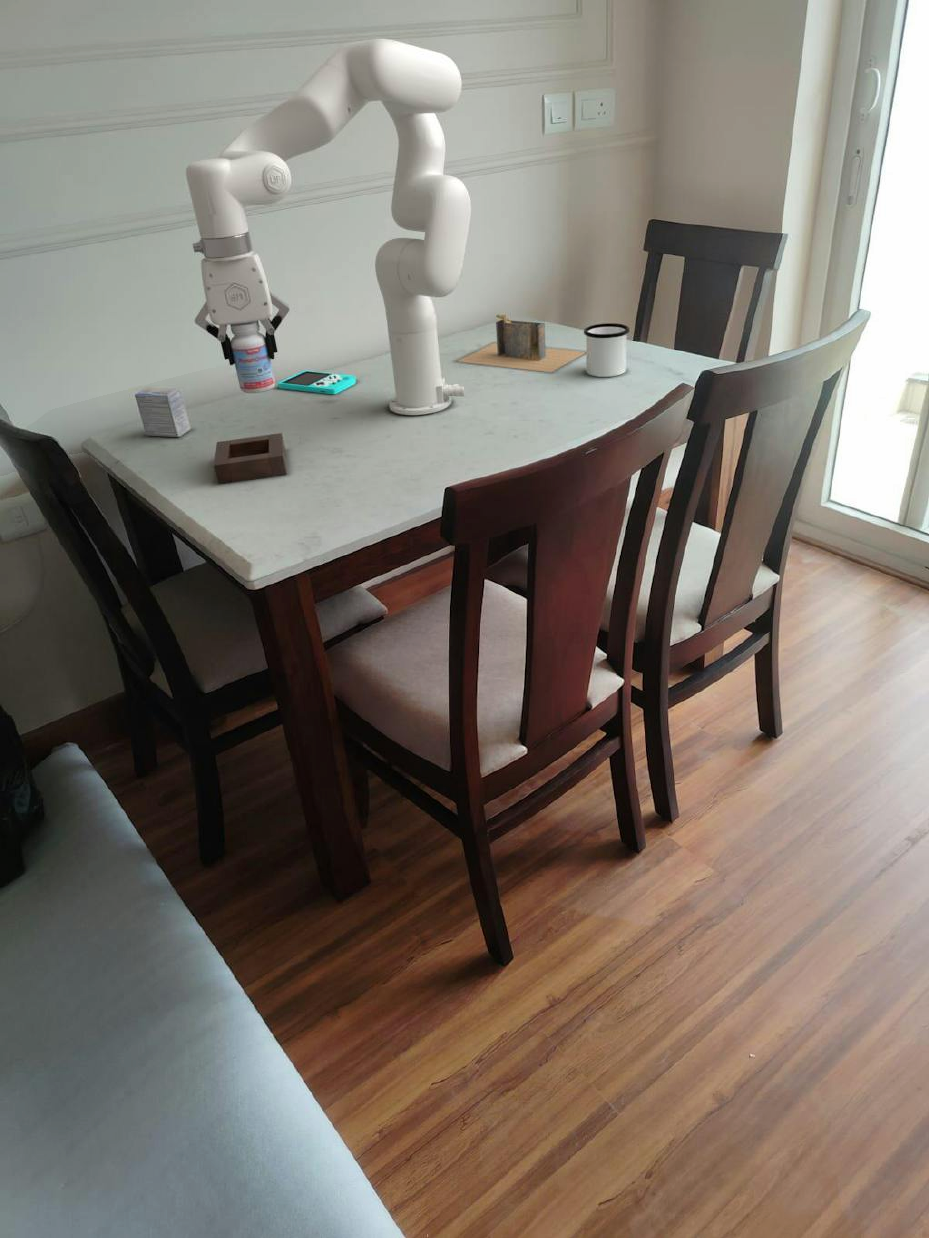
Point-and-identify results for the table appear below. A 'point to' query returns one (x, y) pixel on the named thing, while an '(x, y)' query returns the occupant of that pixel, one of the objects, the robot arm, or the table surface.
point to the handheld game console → (318, 382)
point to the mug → (606, 349)
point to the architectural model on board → (521, 348)
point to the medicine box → (162, 412)
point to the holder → (250, 458)
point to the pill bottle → (251, 358)
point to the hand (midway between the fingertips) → (252, 359)
